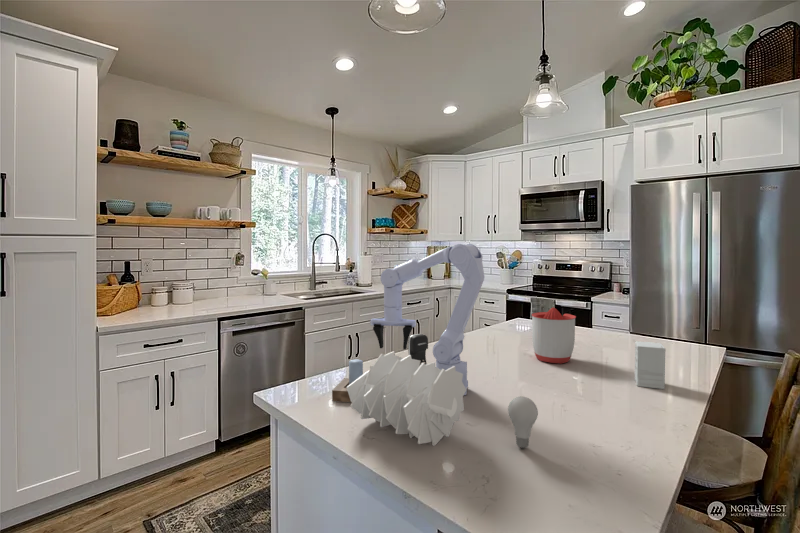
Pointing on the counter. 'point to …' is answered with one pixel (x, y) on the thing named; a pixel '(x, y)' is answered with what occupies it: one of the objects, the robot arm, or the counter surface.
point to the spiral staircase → (409, 396)
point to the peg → (355, 370)
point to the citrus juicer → (553, 336)
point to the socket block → (341, 391)
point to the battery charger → (418, 347)
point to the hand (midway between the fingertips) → (393, 348)
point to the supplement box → (650, 364)
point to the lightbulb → (522, 418)
